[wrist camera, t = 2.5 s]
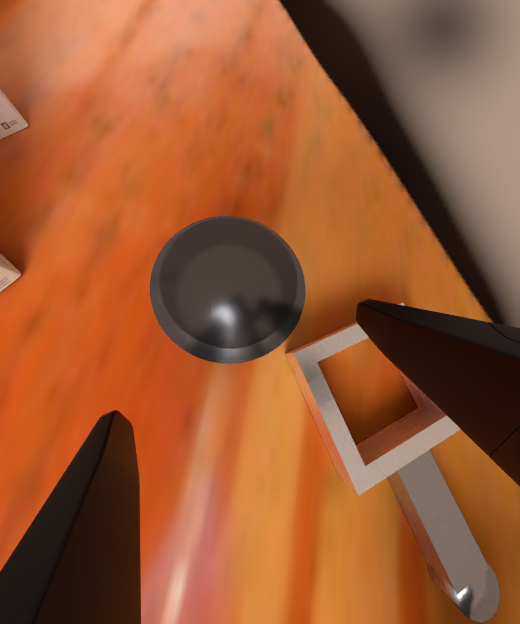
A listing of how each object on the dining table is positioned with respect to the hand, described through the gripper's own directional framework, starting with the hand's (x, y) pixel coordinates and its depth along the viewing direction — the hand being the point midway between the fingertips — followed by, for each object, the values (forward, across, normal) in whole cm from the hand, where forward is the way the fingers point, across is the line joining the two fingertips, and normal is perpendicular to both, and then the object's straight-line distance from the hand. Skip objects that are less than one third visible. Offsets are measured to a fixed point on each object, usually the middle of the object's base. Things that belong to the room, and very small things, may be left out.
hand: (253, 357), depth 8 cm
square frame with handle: (-1, -8, +14) cm, 16 cm away
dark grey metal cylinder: (+8, 0, +5) cm, 10 cm away
